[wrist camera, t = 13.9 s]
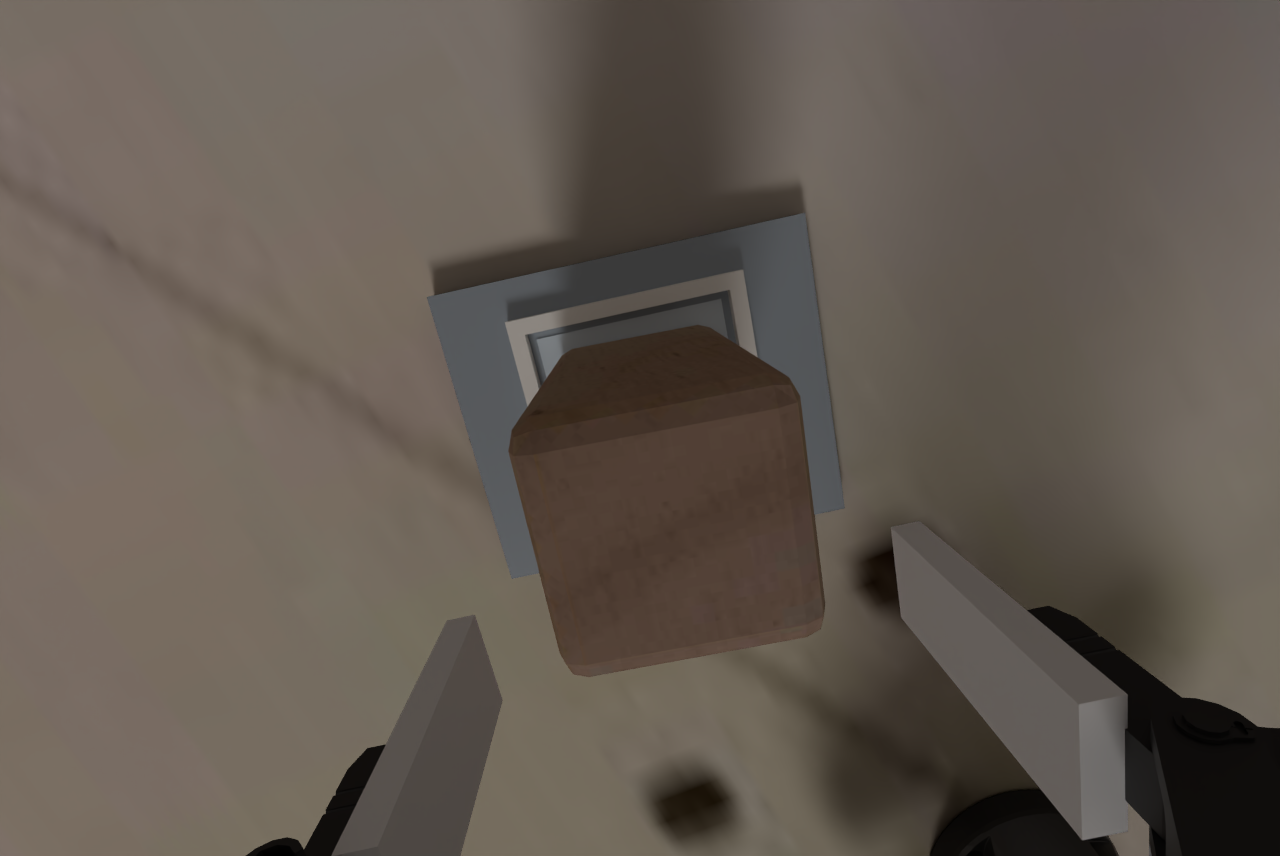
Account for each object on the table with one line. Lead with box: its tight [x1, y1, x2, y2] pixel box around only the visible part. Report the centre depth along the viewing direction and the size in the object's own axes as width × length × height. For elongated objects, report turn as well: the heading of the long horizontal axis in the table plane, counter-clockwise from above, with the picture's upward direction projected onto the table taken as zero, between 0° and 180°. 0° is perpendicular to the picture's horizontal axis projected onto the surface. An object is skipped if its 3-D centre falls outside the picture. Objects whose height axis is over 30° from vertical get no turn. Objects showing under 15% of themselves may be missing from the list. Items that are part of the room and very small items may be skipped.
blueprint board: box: [427, 213, 845, 579], centre depth 40 cm, size 24×20×2 cm
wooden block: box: [508, 325, 825, 677], centre depth 30 cm, size 10×10×20 cm
